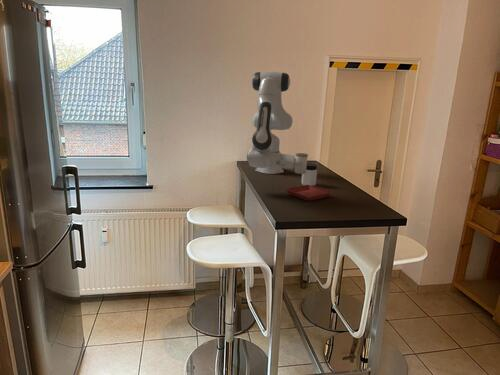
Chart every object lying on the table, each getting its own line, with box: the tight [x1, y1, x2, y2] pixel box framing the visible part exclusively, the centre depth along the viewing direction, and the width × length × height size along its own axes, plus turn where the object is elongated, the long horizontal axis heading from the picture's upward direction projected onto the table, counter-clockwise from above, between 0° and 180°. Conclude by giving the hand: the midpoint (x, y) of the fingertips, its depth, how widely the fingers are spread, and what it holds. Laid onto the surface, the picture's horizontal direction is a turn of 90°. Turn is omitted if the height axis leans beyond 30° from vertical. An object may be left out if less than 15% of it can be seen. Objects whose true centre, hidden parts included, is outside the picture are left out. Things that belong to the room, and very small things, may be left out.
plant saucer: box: [285, 184, 332, 201], centre depth 209 cm, size 18×18×3 cm
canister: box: [294, 152, 309, 175], centre depth 207 cm, size 6×6×10 cm
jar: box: [300, 162, 318, 187], centre depth 231 cm, size 9×8×12 cm
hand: (302, 162), depth 207 cm, fingers closed on canister, 6 cm apart
